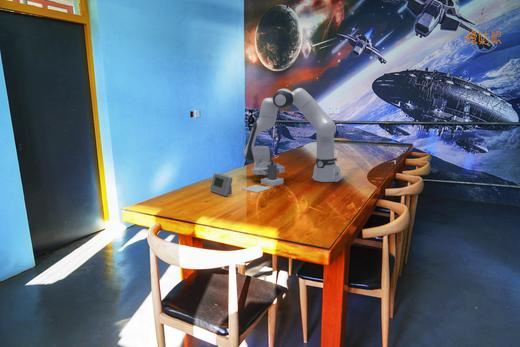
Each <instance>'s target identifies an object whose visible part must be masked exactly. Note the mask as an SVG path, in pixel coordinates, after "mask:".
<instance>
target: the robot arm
mask: <svg viewBox="0 0 520 347" xmlns="http://www.w3.org/2000/svg"><path fill="white" fill-rule="evenodd" d="M292 105H294V106H295V107H296V108H297V109H298V111H300V113H301V114H302V115H303V116H304V117H305V119H306V120H307V121H308V122H309V123H310V124H311V126H312V127H313V128H314V130H316V157H315V165H313V166H314V167H313V175H312V176H311V178H312V179H313V180H314V181H316V182H322V183H333V182H335V183H336V182H337V183H338V182H339V181H340V180H343V179H344V178H345V176H344V175H342V174H341V168H340V167H339V166H338V165H337V164H336V162H337V161H338V158H337V157H335V133H337V132H336V131H337V126H336V123H335V122H334V121H333V119H331V117H330V116H329V114H327V113H326V112H325V111H324V109H323V108H322V107H321V106H320V105H319V103H318V102H317V101H316V100H315V99H314V97H313V96H312V95H311V94H310V93H309V92H307V90H305V89H304V88H302V87H298V88H296V89H294V90H293V91H292V90H291V89H290V88H287V87H282V88H280V89H278V90H277V91H275V93H274V94H273V97H266V98H264V99H263V100H262V102H261V106H260V108H259V116H258V118H257V120H256V121H254V122H253V123H252V125H251V129H250V132H249V135H248V139H247V142H246V145H245V147H244V150H243V157H244V159H245V160H246V161H247V162H251V161H252V162H253V161H254V163H253V168H251V172H253V175H255V176H261V175H263V176H265V177H266V176H267V177H268V165H269V164H271V160H273V152H272V149H271V148H270V147H269V146H266V145H260V146H259V145H255V143H256V138H257V136H258V135H259V134H260V133H261V132H264V131H267V130H269V129H272V128H273V127H274V126H275V124H276V121H277V114H278V111H279V109H284V108H286V107H289V106H292ZM273 164H276V165H277V175H279V174H284V173H285V172H286V169H285V168H286V167H285V166H283V165H282V164H279V162H273Z"/></svg>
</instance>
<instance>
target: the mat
mask: <svg viewBox="0 0 520 347" xmlns="http://www.w3.org/2000/svg"><path fill="white" fill-rule="evenodd" d="M241 189H242V190H244V191H247V192H252V193H256V194H257V193H258V194H259V193H261V192H264V191H265V192H266V191H267V190H270V189H271V187H270V186H262V185H258V184H254V185H251V186H247V187H243V188H241Z"/></svg>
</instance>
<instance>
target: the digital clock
mask: <svg viewBox="0 0 520 347" xmlns="http://www.w3.org/2000/svg"><path fill="white" fill-rule="evenodd" d="M232 182H233V177H232V176H229V175H227V174H223V173H218V172H215V173H214V174H213V178H212V181H211V183H210V184H211V185H210V188H209V190H210V191H211V192H212V193H214V194H218V195H220V196H224V197H228V196H229V195H232V192H233V188H232V187H233V186H232Z"/></svg>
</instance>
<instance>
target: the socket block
mask: <svg viewBox="0 0 520 347" xmlns="http://www.w3.org/2000/svg"><path fill="white" fill-rule="evenodd" d="M284 181H285V180H284V178H283V177H278V176H277V179H275V180H269V179H268V176H267V177H264V178H260V184H261V185H265V186H268V187H276V186H279V185H283V184H284Z"/></svg>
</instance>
